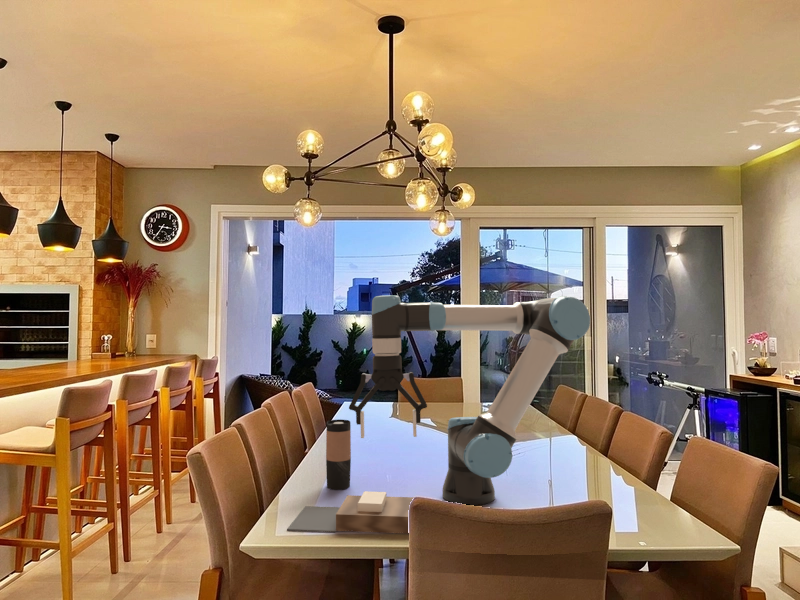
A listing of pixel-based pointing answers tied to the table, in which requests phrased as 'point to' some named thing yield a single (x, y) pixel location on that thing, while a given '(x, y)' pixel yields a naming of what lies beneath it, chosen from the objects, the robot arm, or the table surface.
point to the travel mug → (338, 454)
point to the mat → (315, 519)
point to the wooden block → (374, 516)
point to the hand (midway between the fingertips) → (388, 436)
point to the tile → (372, 501)
